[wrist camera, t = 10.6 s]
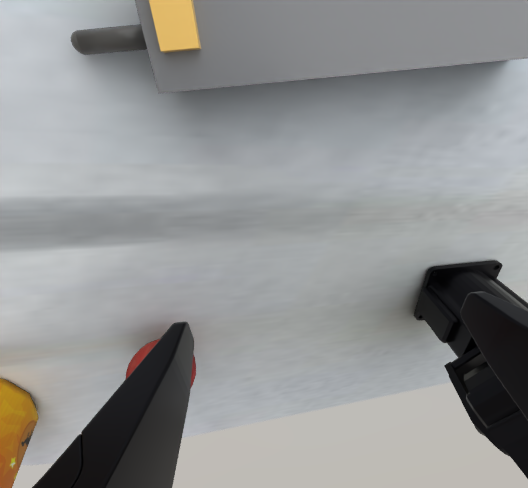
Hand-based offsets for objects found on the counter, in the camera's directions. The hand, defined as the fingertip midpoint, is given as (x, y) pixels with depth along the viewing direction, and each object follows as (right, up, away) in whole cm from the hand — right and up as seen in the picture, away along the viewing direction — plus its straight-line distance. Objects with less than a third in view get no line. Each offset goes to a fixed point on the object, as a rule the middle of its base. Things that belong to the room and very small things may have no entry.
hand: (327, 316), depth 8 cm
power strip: (0, +14, +6) cm, 16 cm away
